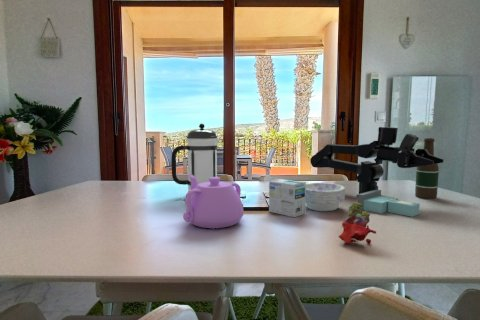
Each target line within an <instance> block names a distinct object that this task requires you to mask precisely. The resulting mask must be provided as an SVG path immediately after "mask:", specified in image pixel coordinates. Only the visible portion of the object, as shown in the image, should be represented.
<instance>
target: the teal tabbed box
mask: <svg viewBox="0 0 480 320" xmlns="http://www.w3.org/2000/svg"><path fill="white" fill-rule="evenodd" d="M357 195H358V196H357V203H362V204H363V210H362V211H366V210H367V212H372V213H378V214H384V213H386V212H388V202H389V201H392V200H394V199H396V200H399V199H398V197H394V196H387V195H383V194H382V190H381V189H378V190H373V191H369V192H365V193H361V194H359V193H358V194H357Z"/></svg>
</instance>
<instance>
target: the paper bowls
mask: <svg viewBox="0 0 480 320" xmlns="http://www.w3.org/2000/svg"><path fill="white" fill-rule="evenodd" d="M345 201H346V188H345V186H343V185H341V184H336V183H330V182H310V183H306V208H308V209H309V210H312V211H317V212H331V211H335V210H337V209H338V207H339V205H340V204H344V202H345Z"/></svg>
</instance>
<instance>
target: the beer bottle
mask: <svg viewBox="0 0 480 320" xmlns="http://www.w3.org/2000/svg"><path fill="white" fill-rule="evenodd" d="M434 142H435V138H433V137H425V138H424V139H423V143H424V144H423V149H427V150H428V152H429V154H430V155H433V156H435V154H434V152H435V151H434V150H435V146H434ZM415 169H416V170H415V171H416V174H415V189H414V191H415V193H414V195H415V197H417V198H419V199H424V200H434V199H437V197H438V188H439V187H438V185H439V169H440V168H439V163H437V164H431V165H425V166H418V167H416V168H415Z"/></svg>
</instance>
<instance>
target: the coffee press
mask: <svg viewBox="0 0 480 320" xmlns="http://www.w3.org/2000/svg"><path fill="white" fill-rule="evenodd" d="M198 127H199V129H195V130H191V131H188V133H187V136H185V137H186V140H187V145H179V146H176V147H175V148H174V149H173V150H172V152H171V177H172V180H173V181H174V182H175V184H178V185H183V186H186V185H187V186H188V189H187V190H188V191H187V193H188V192H189V191H190V189H191V180H190V177H189V174H192V175H194V176H195V177H196V180H197V182H198V184H200V183H205V182H210V181H209V178H210V177H218V174H217V173H218V166H217V165H218V162H217V161H218V160H217V159H218V156H217V155H218V152H217V150H218V145H217V144H221V140H220V138H218V135H217V133H216V132H215V131H214V130H210V129H204V128H205V124H204V123H200V124H199V126H198ZM185 150H187V180H186V179H185V180H183V179H182V180H181V179H179V178H178V177H177V154H178V152H180V151H185Z"/></svg>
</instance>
